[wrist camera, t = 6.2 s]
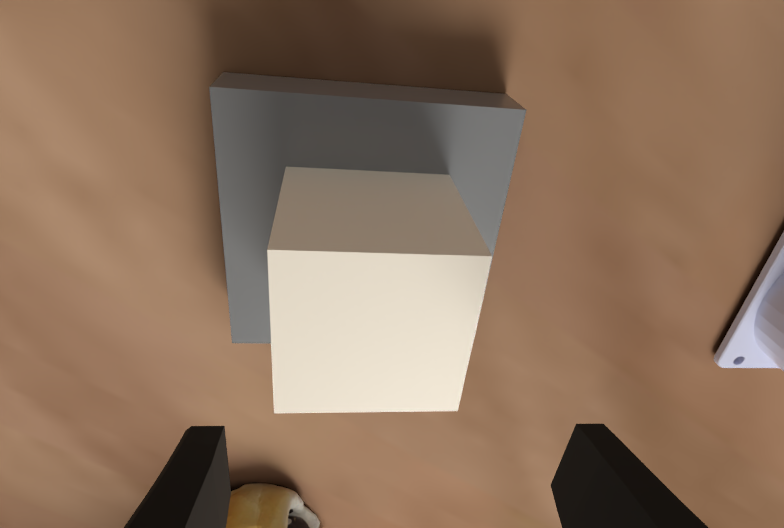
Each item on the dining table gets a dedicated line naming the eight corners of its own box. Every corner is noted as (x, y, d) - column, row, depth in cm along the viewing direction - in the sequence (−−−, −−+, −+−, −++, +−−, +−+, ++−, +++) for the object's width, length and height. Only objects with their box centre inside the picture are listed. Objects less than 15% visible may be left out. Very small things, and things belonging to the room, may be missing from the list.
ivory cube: (449, 175, 16) (492, 256, 11) (428, 305, 18) (457, 410, 14) (285, 166, 15) (267, 249, 11) (288, 302, 18) (274, 413, 13)
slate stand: (506, 93, 17) (526, 110, 15) (461, 313, 21) (472, 345, 20) (222, 72, 15) (209, 86, 14) (240, 310, 20) (232, 343, 18)
